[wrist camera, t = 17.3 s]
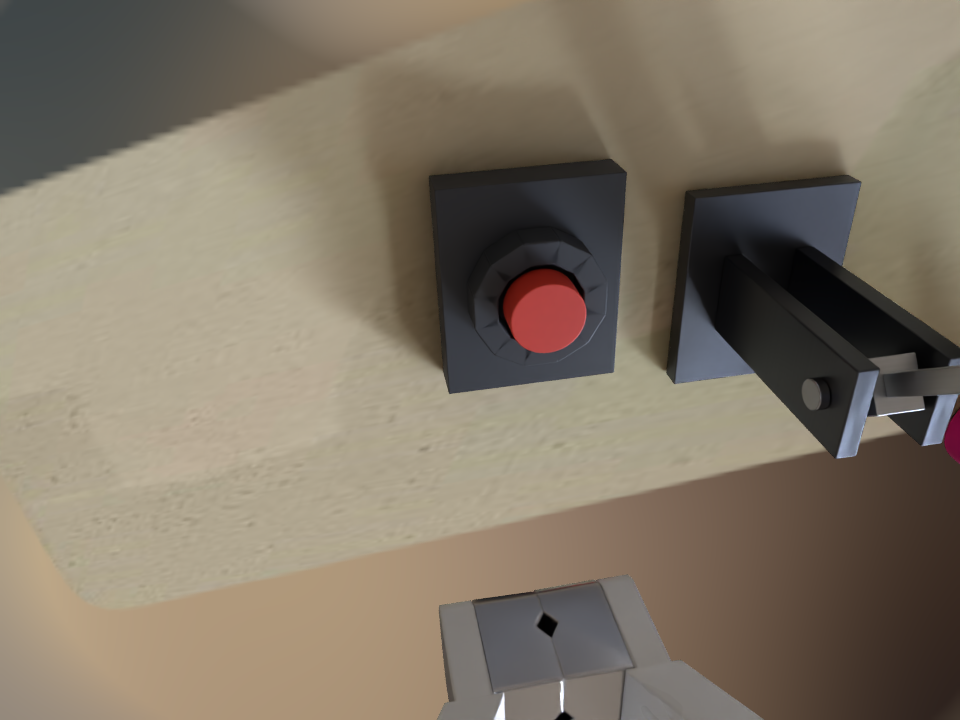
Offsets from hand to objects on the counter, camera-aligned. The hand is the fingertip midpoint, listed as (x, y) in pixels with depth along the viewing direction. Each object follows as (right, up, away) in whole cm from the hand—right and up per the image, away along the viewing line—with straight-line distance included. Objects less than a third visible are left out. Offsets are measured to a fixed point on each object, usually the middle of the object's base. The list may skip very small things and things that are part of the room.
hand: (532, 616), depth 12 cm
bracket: (+14, +8, +30) cm, 34 cm away
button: (+2, +7, +24) cm, 25 cm away
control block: (+1, +9, +27) cm, 29 cm away
